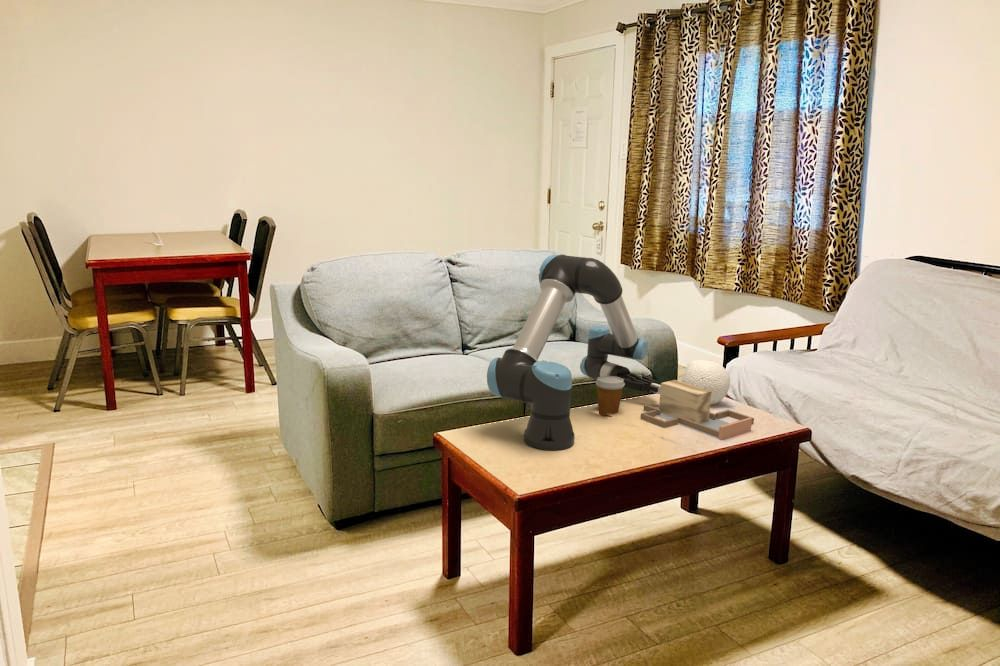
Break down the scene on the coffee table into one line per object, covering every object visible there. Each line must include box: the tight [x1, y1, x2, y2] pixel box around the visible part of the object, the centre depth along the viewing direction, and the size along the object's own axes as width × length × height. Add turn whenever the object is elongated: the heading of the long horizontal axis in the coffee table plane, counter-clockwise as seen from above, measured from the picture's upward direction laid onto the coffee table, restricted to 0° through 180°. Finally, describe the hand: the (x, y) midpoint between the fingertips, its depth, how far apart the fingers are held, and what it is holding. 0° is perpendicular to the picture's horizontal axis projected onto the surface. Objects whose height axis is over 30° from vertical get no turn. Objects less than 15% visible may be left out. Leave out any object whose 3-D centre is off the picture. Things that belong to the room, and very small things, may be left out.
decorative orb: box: [681, 359, 731, 406], centre depth 266 cm, size 20×18×16 cm
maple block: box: [658, 379, 712, 424], centre depth 250 cm, size 7×15×10 cm, turn 37°
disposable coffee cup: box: [595, 376, 625, 418], centre depth 253 cm, size 10×10×12 cm
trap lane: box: [639, 404, 755, 441], centre depth 247 cm, size 28×32×5 cm
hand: (666, 392), depth 256 cm, fingers closed
